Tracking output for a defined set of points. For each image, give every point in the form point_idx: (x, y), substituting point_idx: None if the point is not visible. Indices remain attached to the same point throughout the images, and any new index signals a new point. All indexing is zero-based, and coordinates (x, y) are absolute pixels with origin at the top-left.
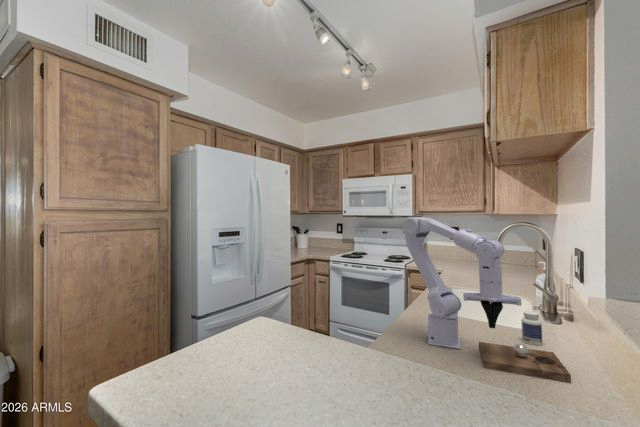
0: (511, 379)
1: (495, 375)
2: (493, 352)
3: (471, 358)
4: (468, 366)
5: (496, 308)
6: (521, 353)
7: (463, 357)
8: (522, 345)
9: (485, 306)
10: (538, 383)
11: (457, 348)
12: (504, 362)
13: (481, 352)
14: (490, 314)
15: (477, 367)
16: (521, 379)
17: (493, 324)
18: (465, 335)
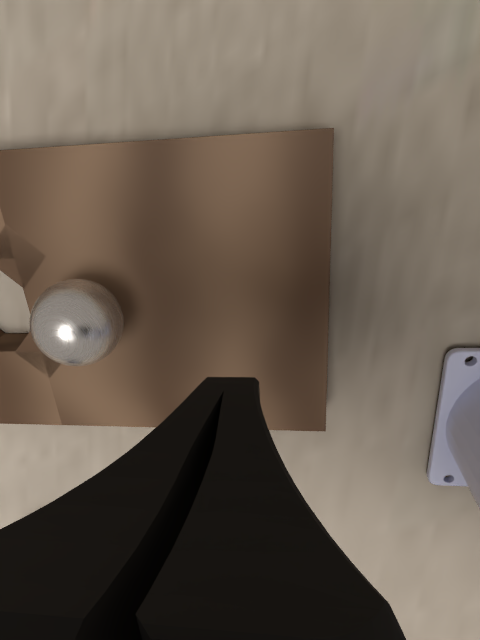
0: (172, 32)
1: (265, 42)
2: (251, 302)
3: (390, 245)
4: (433, 102)
5: (32, 583)
6: (76, 279)
7: (443, 239)
8: (47, 329)
9: (325, 629)
10: (32, 61)
11: (464, 348)
12: (193, 167)
13: (329, 274)
14: (220, 480)
15: (370, 117)
16: (117, 68)
17: (210, 393)
18: (376, 536)
